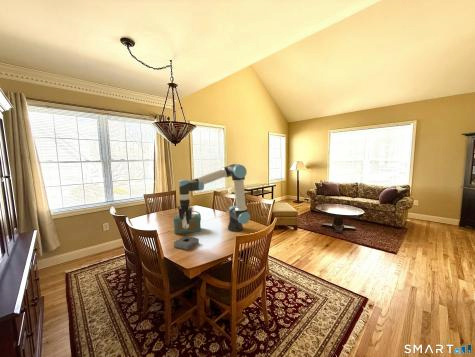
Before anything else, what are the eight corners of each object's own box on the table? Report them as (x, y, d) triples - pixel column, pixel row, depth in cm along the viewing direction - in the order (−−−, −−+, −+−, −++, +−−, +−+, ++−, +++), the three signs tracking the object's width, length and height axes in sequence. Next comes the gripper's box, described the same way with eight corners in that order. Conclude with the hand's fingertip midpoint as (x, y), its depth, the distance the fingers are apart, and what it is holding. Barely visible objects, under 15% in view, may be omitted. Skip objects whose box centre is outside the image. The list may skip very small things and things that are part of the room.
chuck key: (189, 227, 164) (189, 213, 162) (184, 230, 158) (184, 215, 157) (186, 227, 165) (186, 213, 164) (181, 229, 160) (181, 215, 158)
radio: (173, 234, 187) (172, 213, 184) (174, 230, 197) (173, 210, 195) (201, 231, 192) (200, 211, 190) (201, 227, 202) (200, 208, 200)
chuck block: (198, 243, 166) (198, 238, 166) (187, 250, 154) (187, 245, 153) (185, 240, 173) (185, 235, 172) (174, 246, 160) (173, 242, 160)
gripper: (195, 199, 159) (196, 227, 161) (180, 197, 166) (181, 224, 168) (189, 200, 152) (190, 230, 155) (173, 199, 159) (175, 227, 162)
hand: (185, 227), depth 161 cm, fingers closed on chuck key, 3 cm apart
